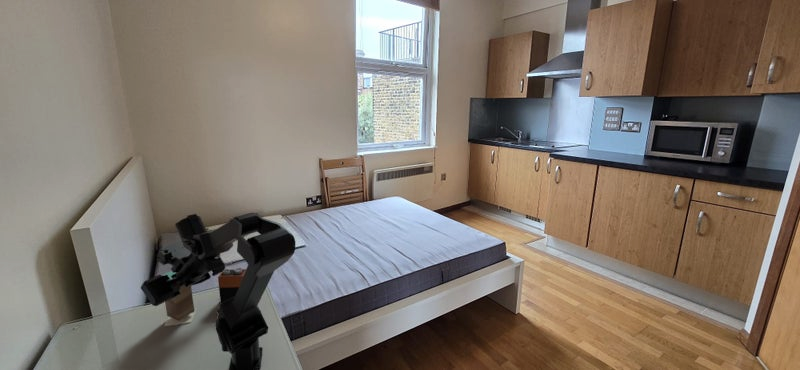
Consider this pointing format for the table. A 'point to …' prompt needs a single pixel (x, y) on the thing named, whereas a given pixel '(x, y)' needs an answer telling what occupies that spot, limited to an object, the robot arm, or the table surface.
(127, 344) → the table surface
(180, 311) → the block
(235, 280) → the battery
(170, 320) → the pad
